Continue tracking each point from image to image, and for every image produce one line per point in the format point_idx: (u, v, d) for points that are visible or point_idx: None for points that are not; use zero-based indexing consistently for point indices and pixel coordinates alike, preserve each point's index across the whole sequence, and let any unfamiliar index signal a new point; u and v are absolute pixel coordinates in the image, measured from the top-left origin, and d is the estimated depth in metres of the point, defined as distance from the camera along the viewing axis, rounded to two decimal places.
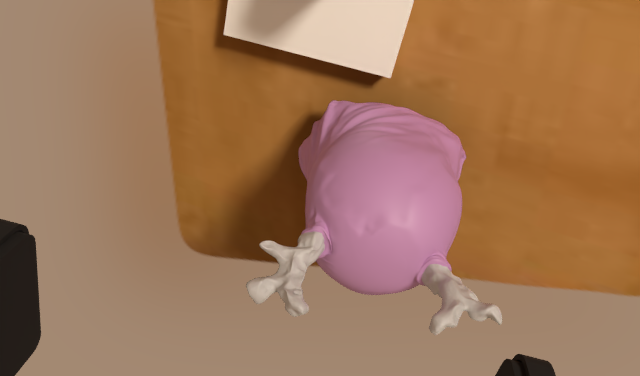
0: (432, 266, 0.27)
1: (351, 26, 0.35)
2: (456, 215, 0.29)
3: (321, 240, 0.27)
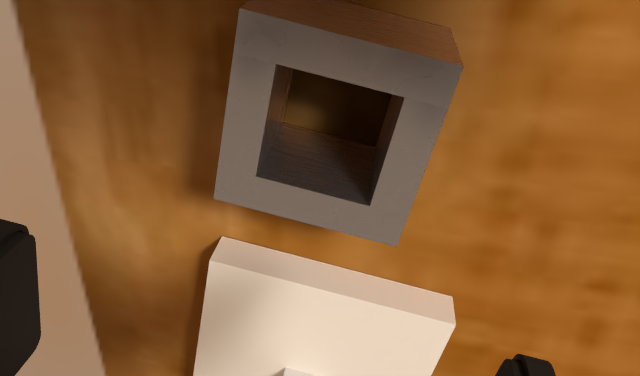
0: None
1: None
2: None
3: None
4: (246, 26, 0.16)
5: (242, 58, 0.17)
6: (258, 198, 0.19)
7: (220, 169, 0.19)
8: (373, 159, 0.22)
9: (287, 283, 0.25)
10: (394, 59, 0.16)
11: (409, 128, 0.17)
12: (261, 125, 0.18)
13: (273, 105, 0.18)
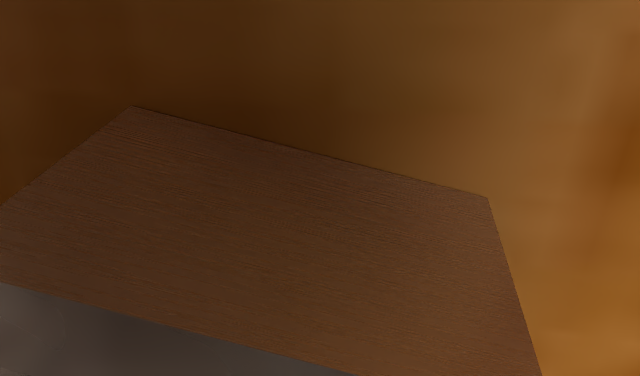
0: None
1: None
2: None
3: None
4: None
5: None
6: None
7: None
8: None
9: None
10: None
11: None
12: None
13: None
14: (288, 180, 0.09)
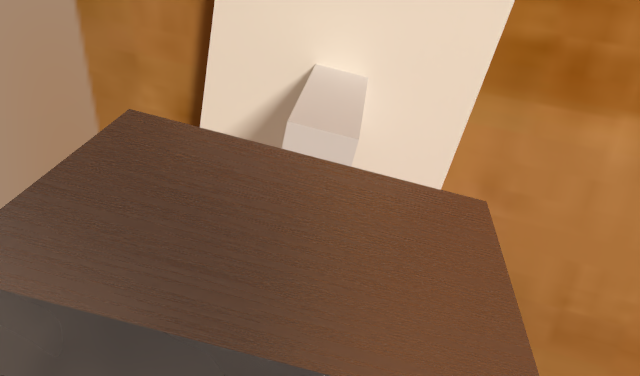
0: None
1: None
2: None
3: None
4: None
5: None
6: None
7: None
8: None
9: None
10: None
11: None
12: None
13: None
14: (287, 184, 0.09)
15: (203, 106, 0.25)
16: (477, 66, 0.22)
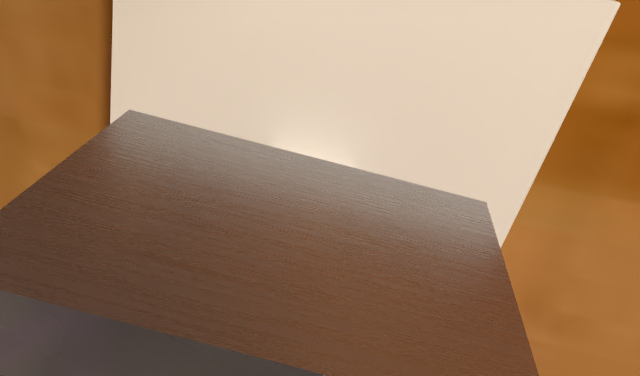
0: None
1: None
2: None
3: None
4: None
5: None
6: None
7: None
8: None
9: None
10: None
11: None
12: None
13: None
14: (286, 185, 0.09)
15: None
16: (527, 156, 0.14)
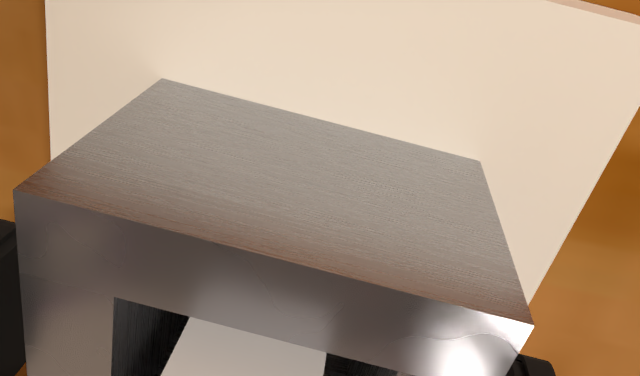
0: None
1: None
2: None
3: None
4: (36, 225, 0.07)
5: (41, 282, 0.08)
6: None
7: None
8: (345, 368, 0.13)
9: None
10: (373, 303, 0.07)
11: None
12: None
13: (140, 333, 0.09)
14: (304, 141, 0.10)
15: None
16: (555, 216, 0.12)
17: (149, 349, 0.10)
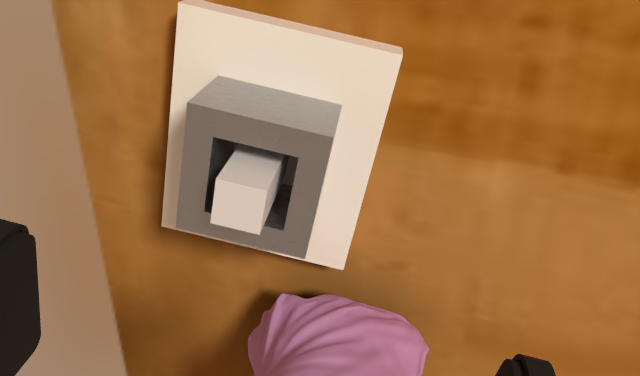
0: None
1: None
2: None
3: None
4: (192, 113, 0.25)
5: (190, 133, 0.25)
6: (206, 226, 0.27)
7: (179, 207, 0.27)
8: None
9: (248, 22, 0.27)
10: (288, 133, 0.24)
11: (304, 177, 0.25)
12: (205, 176, 0.26)
13: (215, 162, 0.27)
14: (272, 96, 0.28)
15: (167, 159, 0.32)
16: (374, 127, 0.29)
17: (216, 175, 0.28)
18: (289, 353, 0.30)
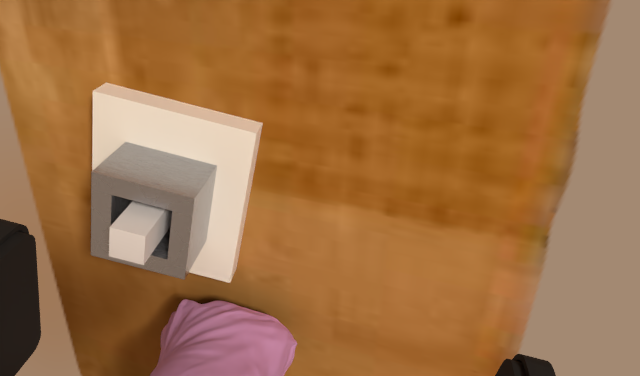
0: None
1: None
2: None
3: None
4: (95, 179, 0.35)
5: (96, 192, 0.35)
6: None
7: (92, 241, 0.37)
8: None
9: (144, 106, 0.37)
10: (163, 194, 0.35)
11: (177, 224, 0.36)
12: (108, 221, 0.36)
13: (118, 209, 0.37)
14: (162, 160, 0.38)
15: None
16: (241, 181, 0.39)
17: None
18: (178, 346, 0.40)
